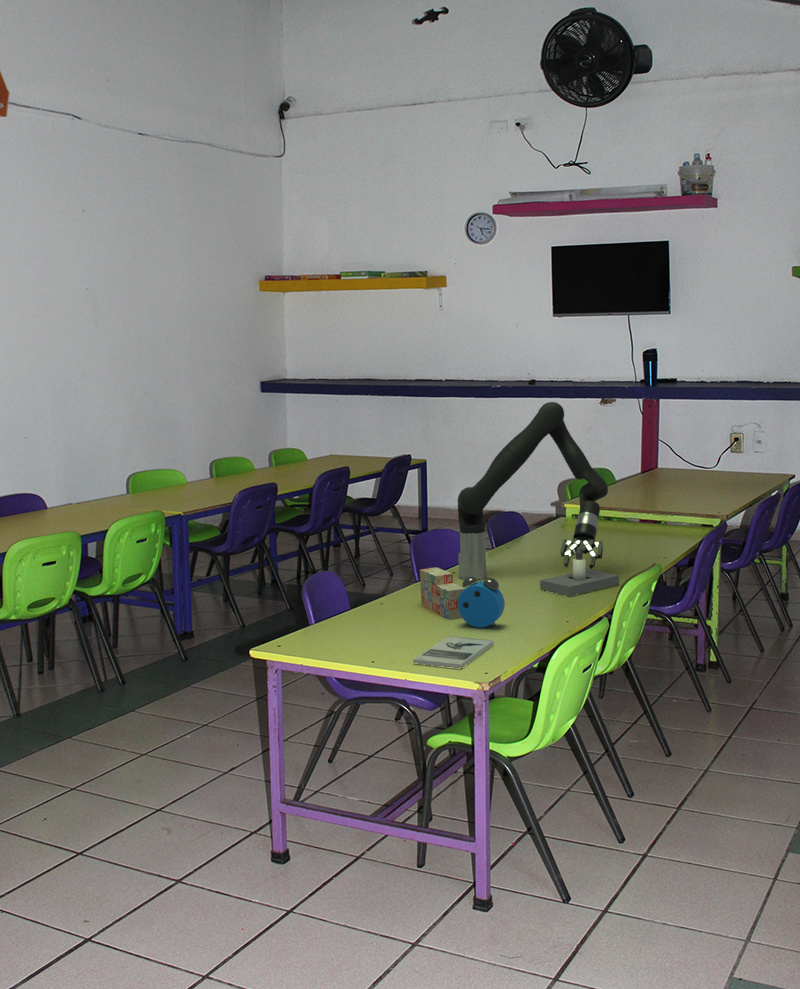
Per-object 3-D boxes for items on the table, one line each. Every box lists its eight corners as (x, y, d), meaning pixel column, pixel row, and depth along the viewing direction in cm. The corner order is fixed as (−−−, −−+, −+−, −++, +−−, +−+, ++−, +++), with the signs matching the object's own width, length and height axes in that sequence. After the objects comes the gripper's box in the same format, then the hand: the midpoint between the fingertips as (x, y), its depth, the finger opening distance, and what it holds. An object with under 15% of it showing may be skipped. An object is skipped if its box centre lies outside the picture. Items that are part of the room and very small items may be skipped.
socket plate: (569, 597, 329) (569, 586, 329) (540, 590, 341) (540, 580, 340) (619, 585, 343) (618, 575, 342) (589, 578, 354) (589, 569, 354)
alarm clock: (505, 625, 298) (504, 576, 296) (498, 630, 293) (497, 581, 291) (465, 621, 304) (463, 574, 302) (457, 626, 299) (456, 578, 296)
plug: (579, 589, 339) (579, 552, 337) (570, 587, 342) (569, 550, 341) (588, 587, 341) (588, 550, 340) (579, 585, 345) (578, 548, 343)
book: (461, 671, 258) (460, 664, 258) (413, 666, 264) (413, 659, 264) (493, 647, 278) (493, 640, 278) (448, 642, 284) (448, 636, 284)
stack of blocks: (466, 617, 310) (465, 578, 308) (448, 620, 307) (447, 581, 306) (438, 602, 329) (436, 566, 328) (420, 605, 327) (419, 568, 325)
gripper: (564, 521, 348) (556, 559, 340) (604, 522, 342) (597, 561, 334) (568, 533, 354) (560, 571, 345) (608, 535, 348) (600, 573, 339)
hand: (578, 566), depth 339 cm, fingers open, 8 cm apart
